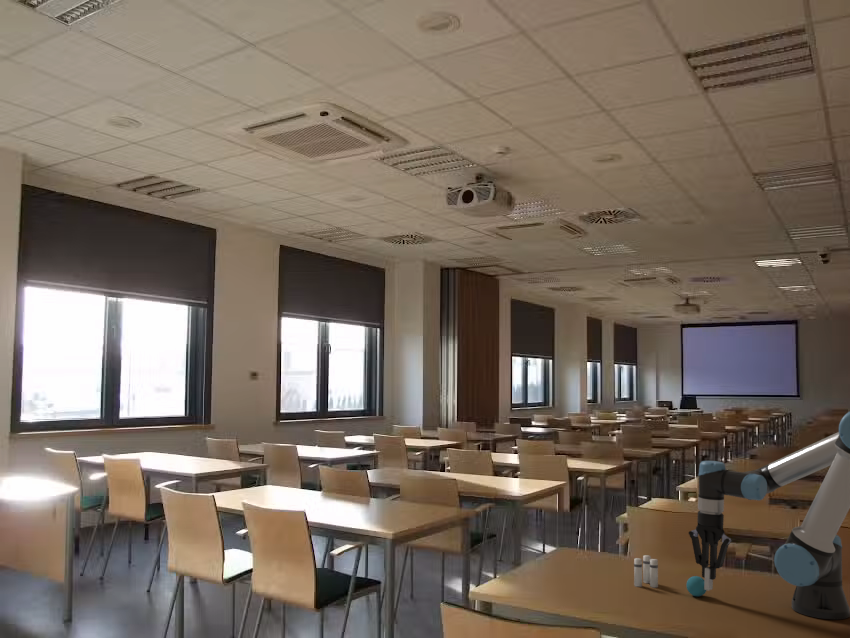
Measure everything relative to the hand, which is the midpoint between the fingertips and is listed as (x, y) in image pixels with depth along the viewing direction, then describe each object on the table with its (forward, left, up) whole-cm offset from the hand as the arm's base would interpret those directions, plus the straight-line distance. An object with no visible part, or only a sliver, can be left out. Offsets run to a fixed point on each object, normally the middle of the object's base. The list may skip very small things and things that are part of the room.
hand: (708, 589), depth 233 cm
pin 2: (+22, +5, -3) cm, 22 cm away
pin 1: (+20, +10, -3) cm, 22 cm away
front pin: (+17, +6, -3) cm, 18 cm away
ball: (+3, +1, 0) cm, 4 cm away
